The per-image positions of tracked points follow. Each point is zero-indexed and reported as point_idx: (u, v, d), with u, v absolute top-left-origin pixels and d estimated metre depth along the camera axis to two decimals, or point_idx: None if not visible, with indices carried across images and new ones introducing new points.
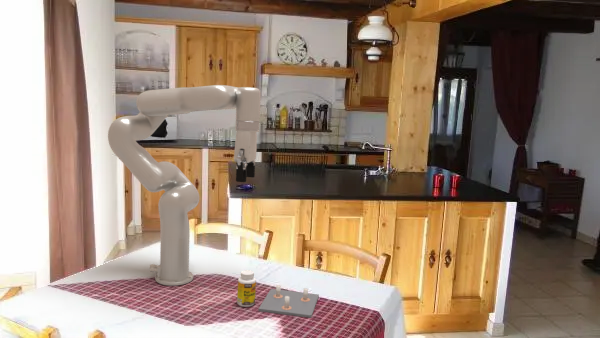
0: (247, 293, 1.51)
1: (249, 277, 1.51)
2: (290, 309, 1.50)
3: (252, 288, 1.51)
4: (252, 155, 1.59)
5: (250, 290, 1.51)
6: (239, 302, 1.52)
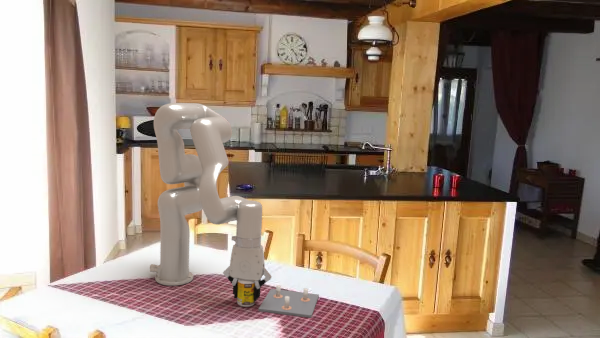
0: (247, 293, 1.51)
1: None
2: (290, 309, 1.50)
3: (252, 288, 1.51)
4: None
5: (250, 290, 1.51)
6: (239, 302, 1.52)
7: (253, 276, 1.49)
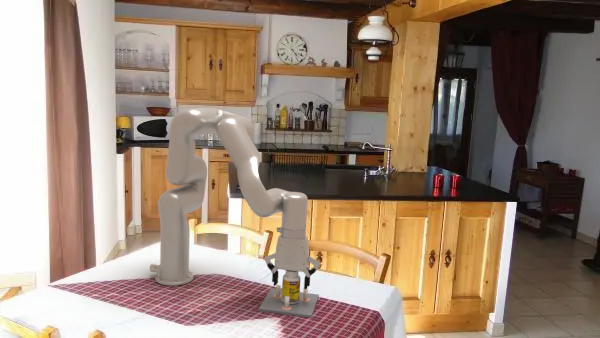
0: (292, 290, 1.52)
1: (294, 274, 1.52)
2: (290, 309, 1.50)
3: (297, 285, 1.53)
4: None
5: (295, 287, 1.52)
6: (284, 299, 1.53)
7: (298, 267, 1.50)
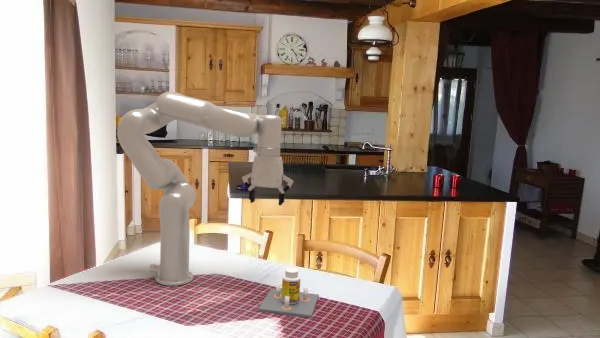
0: (292, 290, 1.52)
1: (294, 275, 1.52)
2: (290, 309, 1.50)
3: (297, 286, 1.53)
4: None
5: (295, 288, 1.52)
6: (284, 300, 1.53)
7: (273, 183, 1.62)
